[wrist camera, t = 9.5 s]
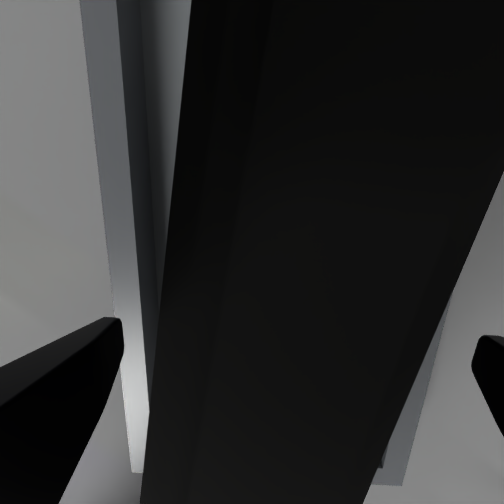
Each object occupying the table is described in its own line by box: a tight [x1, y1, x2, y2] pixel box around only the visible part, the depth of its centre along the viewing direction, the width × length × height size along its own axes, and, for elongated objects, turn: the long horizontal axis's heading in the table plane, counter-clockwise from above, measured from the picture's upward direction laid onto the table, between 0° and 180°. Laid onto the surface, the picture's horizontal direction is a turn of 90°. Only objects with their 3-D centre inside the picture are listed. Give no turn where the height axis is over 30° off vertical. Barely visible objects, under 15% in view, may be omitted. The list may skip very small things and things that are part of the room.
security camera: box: [140, 0, 504, 504], centre depth 13 cm, size 7×18×10 cm, turn 170°
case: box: [80, 0, 452, 486], centre depth 13 cm, size 27×14×10 cm, turn 178°
